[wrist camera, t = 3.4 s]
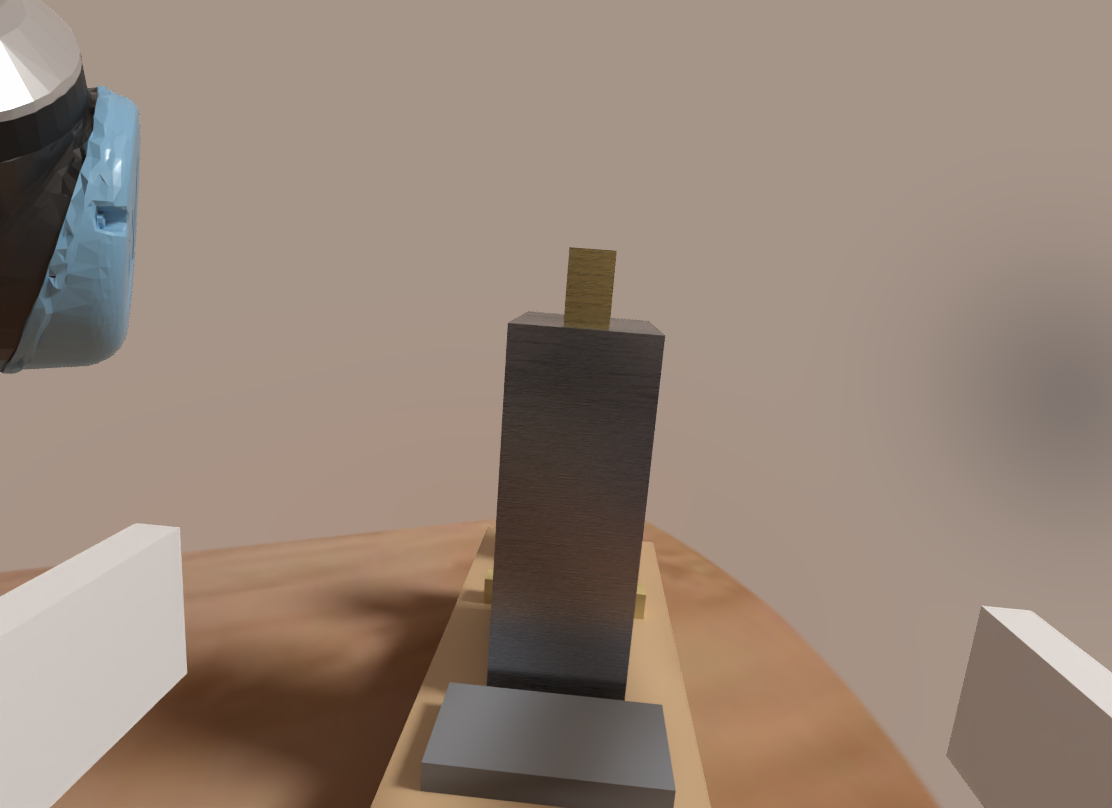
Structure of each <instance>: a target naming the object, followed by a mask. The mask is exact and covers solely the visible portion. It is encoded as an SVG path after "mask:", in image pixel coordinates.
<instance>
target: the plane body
mask: <svg viewBox="0 0 1112 808" xmlns="http://www.w3.org/2000/svg"><path fill="white" fill-rule="evenodd" d="M495 534H496V528H494V527H488V528H487V531H486V533H485V535H484V538H483V540H482V543H481V545H480V547H479V550H478V552H477V555H476V557H475V559H474V562H473V564H472V566H471V569H470V571H469V574H468V576H467V578H466V581H465V583H464V586H463V588H462V590H461V593H460V595H459V597H458V600H457V602H456V605H455V607H454V609H453V612H452V614H451V616H450V619H449V621H448V624H447V626H446V628H445V631H444V633H443V636H442V638H441V640H440V643H439V645H438V647H437V650H436V652H435V655H434V657H433V659H432V662H431V664H430V667H429V669H428V671H427V674H426V676H425V678H424V681H423V683H422V686H421V688H420V690H419V693H418V695H417V698H416V700H415V702H414V705H413V707H412V709H411V712H410V714H409V717H408V719H407V721H406V724H405V726H404V729H403V731H402V733H401V736H400V738H399V740H398V743H397V745H396V748H395V750H394V752H393V755H392V757H391V759H390V762H389V764H388V767H387V769H386V771H385V774H384V776H383V779H382V781H381V783H380V786H379V788H378V790H377V793H376V795H375V798H374V800H373V802H372V805H371V807H370V808H711V805H710V801H709V796H708V792H707V787H706V782H705V778H704V773H703V769H702V764H701V760H700V755H699V750H698V746H697V741H696V737H695V732H694V728H693V723H692V718H691V714H690V709H689V705H688V700H687V696H686V691H685V686H684V682H683V677H682V673H681V668H680V663H679V659H678V654H677V650H676V645H675V641H674V636H673V631H672V627H671V622H670V618H669V613H668V609H667V604H666V599H665V595H664V590H663V586H662V581H661V577H660V572H659V567H658V563H657V558H656V554H655V549H654V545H653V542H642V549H641V558H640V567H639V576H638V585H637V594H636V603H635V612H634V621H633V630H632V639H631V648H630V657H629V666H628V675H627V684H626V693H625V701H622V700H613V699H603V698H594V697H584V696H575V695H565V694H556V693H546V692H537V691H527V690H518V689H508V688H499V687H490V686H487V669H488V652H489V635H490V619H491V602H492V585H493V568H494V551H495Z"/></svg>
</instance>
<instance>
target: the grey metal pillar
mask: <svg viewBox="0 0 1112 808" xmlns="http://www.w3.org/2000/svg"><path fill="white" fill-rule="evenodd" d="M615 261H616V251H611V250H598V249H583V248H571V247H570V249H569V261H568V262H569V263H568V274H567V288H566V300H565V314H554V313H541V312H526V313H524V314H523V315H521V316H520V317H518V318H516V319H514V320H512V321H510V322H509V323H508V331H507V348H506V366H505V382H504V399H503V417H502V433H501V451H500V466H499V483H498V501H497V517H496V534H495V551H494V568H493V585H492V602H491V619H490V635H489V652H488V669H487V686H490V687H499V688H508V689H518V690H527V691H537V692H546V693H556V694H565V695H575V696H584V697H594V698H603V699H613V700H622V701H625V693H626V684H627V675H628V666H629V657H630V648H631V639H632V630H633V621H634V612H635V603H636V594H637V585H638V576H639V567H640V558H641V549H642V540H643V531H644V522H645V512H646V503H647V494H648V485H649V476H650V467H651V458H652V449H653V440H654V431H655V422H656V413H657V404H658V395H659V386H660V377H661V368H662V359H663V350H664V341H665V335H664V334H663V333H662V332H660V331H659V330H658V329H657V328H656V327H655V326H654V325H652V324H651V323H650V322H649V321H640V320H629V319H615V318H610V316H611V305H612V294H613V283H614V273H615Z"/></svg>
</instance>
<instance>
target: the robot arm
mask: <svg viewBox="0 0 1112 808" xmlns="http://www.w3.org/2000/svg"><path fill="white" fill-rule="evenodd" d="M139 162H140V125H139V111H138V108H137V106H136V105H135V103H134V102H132V101H131V100H130V99H128V98H126V97H125V96H121V95H118V94H115V93H113V92H112V91H111V90H107V89H106V87H103V86H98V87H96V88H87V85H86V80H85V75H84V70H83V65H82V59H81V54H80V51H79V47H78V45H77V41H76V39H75V36H74V34H73V31H72V30H71V29H70V28H69V26H68V25H67V24H66V23H65V21H64V20H63V19H62V18H61V17H60V16H58V15H57V14H56V13H55V12H54V11H53V10H52V9H51V8H50V7H48V6H47V5H46V4H44V3H43V2H42V1H40V0H0V372H2V373H11V374H12V373H17V372H19V371H21V370H22V369H39V368H57V367H78V366H89V365H93V364H97V363H99V362H101V361H103V360H106V359H108V358H110V357H111V356H112V355H114V353H115V352H116V351H117V350H119V349H120V347H121V345H122V344H123V342H124V340H125V338H126V335H127V329H128V323H129V315H130V306H131V296H132V283H133V271H134V257H135V242H136V226H137V204H138V187H139ZM186 674H187V661H186V641H185V622H184V602H183V582H182V563H181V543H180V528H179V527H170V526H159V525H149V524H138V523H135V524H133V525H132V526H130V527H128V528H126V529H124V530H122V531H120V532H118V533H117V534H115V535H113V536H111V537H109V538H108V539H106V540H104V541H102V542H100V543H98V544H97V545H95V546H93V547H91V548H89V549H87V550H85V551H83V552H82V553H80V554H78V555H76V556H74V557H72V558H71V559H69V560H67V561H65V562H63V563H61V564H59V565H58V566H56V567H54V568H52V569H50V570H48V571H47V572H45V573H43V574H41V575H39V576H37V577H35V578H34V579H32V580H30V581H28V582H26V583H24V584H23V585H21V586H19V587H17V588H15V589H13V590H11V591H10V592H8V593H6V594H4V595H2V596H0V808H50V807H51V806H52V805H53V804H54V803H55V802H56V801H57V800H58V799H59V798H60V797H61V796H62V795H63V794H64V793H65V792H66V791H67V790H68V789H69V788H70V787H71V786H72V785H73V784H75V783H76V782H77V781H78V780H79V779H80V778H81V777H82V776H83V775H84V774H85V773H86V772H87V771H88V770H89V769H90V768H91V767H92V766H93V765H94V764H95V763H96V762H97V761H98V760H99V759H100V758H101V757H102V756H103V755H104V754H105V753H106V752H107V751H108V750H109V749H110V748H111V747H112V746H113V745H114V744H115V743H116V742H117V741H118V740H119V739H121V738H122V737H123V736H124V735H125V734H126V733H127V732H128V731H129V730H130V729H131V728H132V727H133V726H134V725H135V724H136V723H137V722H138V721H139V720H140V719H141V718H142V717H143V716H144V715H145V714H146V713H147V712H148V711H149V710H150V709H151V708H152V707H153V706H154V705H155V704H156V703H157V702H158V701H159V700H160V699H161V698H162V697H163V696H164V695H166V694H167V693H168V692H169V691H170V690H171V689H172V688H173V687H174V686H175V685H176V684H177V683H178V682H179V681H180V680H181V679H182V678H183V677H184V676H185V675H186ZM947 757H948V758H949V760H950V761H951V763H952V764H953V765H954V767H955V768H956V769H957V771H958V772H959V774H960V775H961V776H962V778H963V779H964V780H965V782H966V783H967V784H968V786H969V787H970V789H971V790H972V791H973V793H974V794H975V795H976V797H977V798H978V799H979V801H980V802H981V804H982V805H983V806H984V808H1112V673H1111V672H1110V671H1109V670H1107V669H1106V668H1105V667H1104V666H1102V665H1101V664H1100V663H1098V662H1097V661H1096V660H1094V659H1093V658H1092V657H1091V656H1089V655H1088V654H1087V653H1085V652H1084V651H1082V650H1081V649H1080V648H1079V647H1078V646H1076V645H1075V644H1074V643H1072V642H1071V641H1070V640H1069V639H1067V638H1066V637H1065V636H1063V635H1062V634H1061V633H1060V632H1058V631H1057V630H1056V629H1054V628H1053V627H1052V626H1050V625H1049V624H1048V623H1046V622H1045V621H1044V620H1043V619H1041V618H1040V617H1039V616H1037V615H1036V614H1035V613H1034V612H1032V611H1030V610H1019V609H1009V608H999V607H989V606H982V607H981V610H980V614H979V619H978V623H977V627H976V632H975V636H974V640H973V644H972V649H971V653H970V657H969V662H968V666H967V670H966V674H965V678H964V683H963V687H962V691H961V696H960V700H959V704H958V708H957V713H956V717H955V721H954V725H953V730H952V734H951V738H950V743H949V747H948V751H947Z"/></svg>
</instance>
